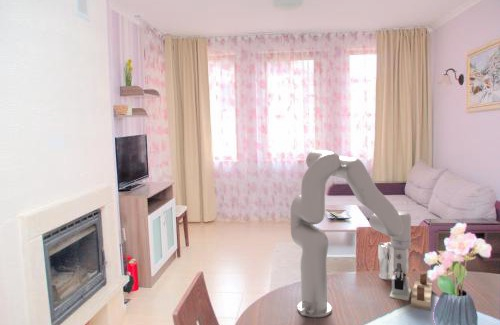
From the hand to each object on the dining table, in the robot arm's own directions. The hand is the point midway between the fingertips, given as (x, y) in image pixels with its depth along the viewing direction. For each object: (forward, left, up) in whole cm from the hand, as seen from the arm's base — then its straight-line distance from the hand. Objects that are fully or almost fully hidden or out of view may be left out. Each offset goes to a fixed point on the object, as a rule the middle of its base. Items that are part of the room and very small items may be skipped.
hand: (400, 284), depth 155 cm
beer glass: (+15, +7, -4) cm, 17 cm away
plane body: (-1, -8, -4) cm, 9 cm away
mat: (0, 0, -4) cm, 4 cm away
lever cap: (0, 0, -3) cm, 3 cm away
